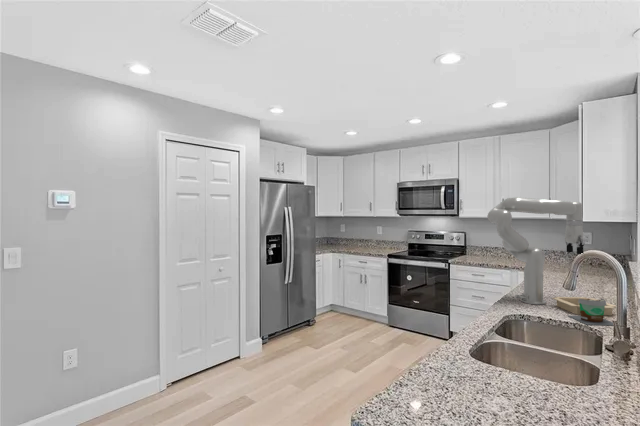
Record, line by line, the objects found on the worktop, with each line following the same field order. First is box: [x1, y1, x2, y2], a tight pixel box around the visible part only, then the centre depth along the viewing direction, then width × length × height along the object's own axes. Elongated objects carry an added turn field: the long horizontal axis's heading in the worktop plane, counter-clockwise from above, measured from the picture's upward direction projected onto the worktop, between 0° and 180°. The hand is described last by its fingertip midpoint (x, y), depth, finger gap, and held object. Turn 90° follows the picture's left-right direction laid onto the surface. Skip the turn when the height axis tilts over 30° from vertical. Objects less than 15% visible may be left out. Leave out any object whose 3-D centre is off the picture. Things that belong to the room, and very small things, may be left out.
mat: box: [567, 315, 614, 327], centre depth 168 cm, size 14×14×1 cm
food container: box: [578, 297, 607, 322], centre depth 166 cm, size 12×6×10 cm, turn 94°
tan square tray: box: [552, 296, 617, 316], centre depth 186 cm, size 22×22×4 cm
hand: (574, 253), depth 204 cm, fingers open, 9 cm apart
